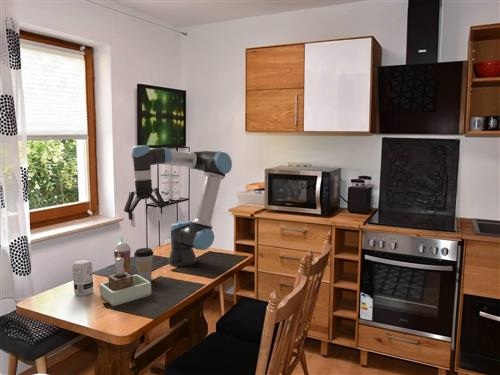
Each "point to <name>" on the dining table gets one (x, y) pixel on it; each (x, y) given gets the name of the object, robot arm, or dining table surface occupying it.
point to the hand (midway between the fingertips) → (146, 223)
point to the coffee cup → (144, 262)
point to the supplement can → (82, 277)
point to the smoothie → (123, 254)
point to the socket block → (120, 282)
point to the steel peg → (119, 267)
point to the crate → (126, 291)
